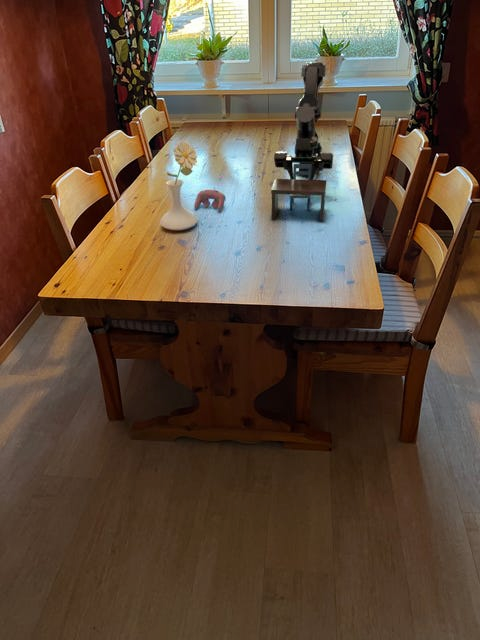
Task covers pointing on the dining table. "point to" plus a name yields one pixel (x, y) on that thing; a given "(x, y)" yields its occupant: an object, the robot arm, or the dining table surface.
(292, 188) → the desk
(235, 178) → the dining table surface
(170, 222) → the flower in vase
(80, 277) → the dining table surface
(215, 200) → the video game controller
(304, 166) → the chair
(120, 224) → the dining table surface
